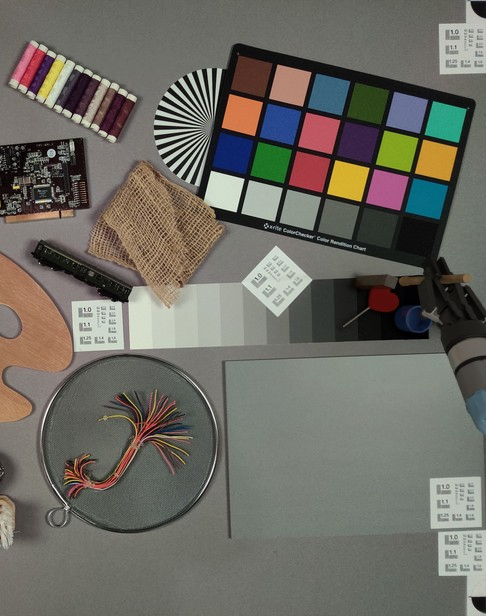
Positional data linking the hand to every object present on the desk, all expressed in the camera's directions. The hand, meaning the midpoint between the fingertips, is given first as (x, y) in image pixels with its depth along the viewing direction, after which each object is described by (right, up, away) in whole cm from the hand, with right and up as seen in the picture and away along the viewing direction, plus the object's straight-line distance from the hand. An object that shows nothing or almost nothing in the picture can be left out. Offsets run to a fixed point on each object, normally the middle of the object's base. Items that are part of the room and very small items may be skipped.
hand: (432, 260), depth 116 cm
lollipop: (+1, -9, +27) cm, 29 cm away
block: (-1, -3, +27) cm, 27 cm away
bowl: (+11, -12, +28) cm, 32 cm away
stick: (-1, -4, +9) cm, 9 cm away
